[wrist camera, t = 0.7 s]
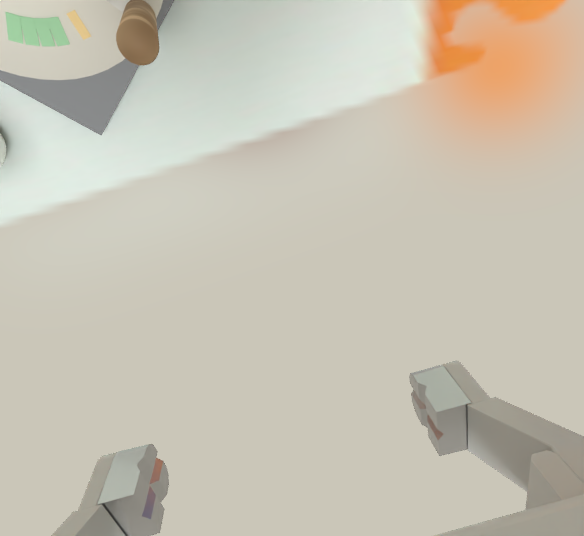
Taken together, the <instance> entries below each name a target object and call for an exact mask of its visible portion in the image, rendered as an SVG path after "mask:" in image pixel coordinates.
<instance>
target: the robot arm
mask: <svg viewBox="0 0 584 536" xmlns="http://www.w3.org/2000/svg"><path fill="white" fill-rule="evenodd" d="M410 384H411V385H412V387H413V389H414V390H413V392H412V393H411V396H412V402H413V405H414V409H415V412H416V414H417V416H418V418H419V420H420V422H421V424H422V425H424V426H426V427H427V428H428V436H429V438H430V440H431V442H432V444H433V445H434V447H435V449H436V451H437V453H438V454H439V456H442V455H445V454H450V453H454V452H458V451H462V450H466V449H468V451H469V452H471V453H472V454H474V455H475V456H477V457H478V458H480V459H481V460H482V461H484V462H485V463H487V464H488V465H490V466H491V467H492V468H494V469H495V470H497V471H498V472H500V473H501V474H502V475H504V476H505V477H507V478H508V479H510V480H511V481H513V482H514V483H516V484H517V485H518V486H520V487H521V488H523V489H524V490H526V491H527V501H526V510H524V511H521V512H517V513H514V514H510V515H506V516H503V517H499V518H495V519H492V520H488V521H485V522H482V523H478V524H474V525H470V526H467V527H463V528H460V529H456V530H452V531H449V532H445V533H442V534H438V535H434V536H584V436H581V435H579V434H577V433H575V432H572V431H570V430H568V429H565V428H563V427H561V426H559V425H556V424H554V423H552V422H550V421H548V420H545V419H543V418H541V417H539V416H536V415H534V414H532V413H530V412H528V411H525V410H523V409H521V408H519V407H516V406H514V405H512V404H510V403H507V402H505V401H503V400H501V399H498V398H496V397H494V398H490V397H489V396H488V395H487V394H486V393H485V391H484V390H483V389H482V388H481V386H480V385H479V384H478V383H477V382H476V380H475V379H474V378H473V377H472V376H471V375H470V373H469V372H468V371H467V370H466V369H465V367H463V365H462V364H461V363H460V362H459V361H453V362H450V363H446V364H443V365H441V366H440V365H439V366H435V367H432V368H428V369H425V370H421V371H418V372H414V373H410ZM156 456H157V450H156V448H155V447H154V445H153V444H149V445H144V446H141V447H136V448H132V449H128V450H124V451H120V452H117V453H113V454H109V455H104V456H102V457H101V458H100V459H99V460H98V461H97V464H96V466H95V469H94V471H93V474H92V476H91V479H90V481H89V484H88V486H87V489H86V491H85V495H84V497H83V499H82V502H81V504H80V507H79V509H78V511H75V512H73V513H72V514H71V515H70V516H69V517H68V518H67V519H66V520H65V521H64V522H63V524H62V525H61V526H60V527H59V528H58V529H57V530H56V531H55V532H54V533H53V535H52V536H151V535H154V534H157V533H160V529H161V524H162V519H163V513H164V508H163V506H162V504H161V501H162V500H163V499H164V497H165V496H166V495H167V491H168V485H169V480H168V471H167V468H166V465H165V463H164V462H163V461H162V460H160V459H158V458H156Z"/></svg>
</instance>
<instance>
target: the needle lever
mask: <svg viewBox="0 0 584 536" xmlns="http://www.w3.org/2000/svg"><path fill="white" fill-rule="evenodd" d="M107 1H108V2H109V3H111V4H112V5H113V6H115V7H116V8H117V9H119V10H120V11H121V12H122V13H123V15H122V18H121V21H120V24H119V27H118V30H117V33H116V42H117V46H118V49H119V51H120V52H121V54H122V55H123V56H124V57H125V58H126V59H127V60H128V61H130V62H131V63H134V64H136V65H147V64H150V63H152V62H153V61H154V60H155V59H156V57H157V55H158V52H159V41H158V31H157V22H156V15H155V12H154V10H153V9H152V7H151V6H150V5H149V4H148V3H147V2H145V1H143V0H107Z"/></svg>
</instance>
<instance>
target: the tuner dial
mask: <svg viewBox="0 0 584 536" xmlns="http://www.w3.org/2000/svg"><path fill="white" fill-rule="evenodd" d="M143 1H145V2H147V3H148V4H149V5H150V6H151V7H152V9H153V10H154V12H155V15H156V22H157V31H158V29H159V27H160V26H161V24H162V22H163V20H164V18H165V16H166V14H167V13H168V11H169V9H170V7H171V5H172V3H173V1H174V0H143ZM122 15H123V13H122V12H121V11H120V10H119V9H117V8H116V7H115V6H113V5H112V4H111V3H109V2H108V1H107V0H0V81H2V82H4V83H6V84H8V85H10V86H11V87H13V88H15V89H17V90H19V91H21V92H22V93H24V94H26V95H28V96H30V97H32V98H34V99H35V100H37V101H39V102H41V103H43V104H45V105H46V106H48V107H50V108H52V109H54V110H56V111H57V112H59V113H61V114H63V115H65V116H67V117H68V118H70V119H72V120H74V121H76V122H78V123H79V124H81V125H83V126H85V127H87V128H89V129H90V130H92V131H94V132H96V133H98V134H100V135H102V133H103V131H104V130H105V128H106V126H107V124H108V122H109V120H110V118H111V117H112V115H113V113H114V111H115V109H116V107H117V105H118V104H119V102H120V100H121V98H122V96H123V94H124V92H125V91H126V89H127V87H128V85H129V83H130V81H131V79H132V78H133V76H134V74H135V72H136V70H137V68H138V66H139V65H136V64H134V63H131V62H130V61H128V60H127V59H126V58H125V57H124V56H123V55H122V54H121V52H120V51H119V49H118V46H117V42H116V33H117V30H118V27H119V24H120V21H121V18H122Z"/></svg>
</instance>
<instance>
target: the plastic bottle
mask: <svg viewBox="0 0 584 536" xmlns="http://www.w3.org/2000/svg"><path fill="white" fill-rule="evenodd" d="M5 157H6V144H5V141H4V139H3V137H2V135H1V134H0V167H1V166H2V165H3V163H4V161H5Z"/></svg>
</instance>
